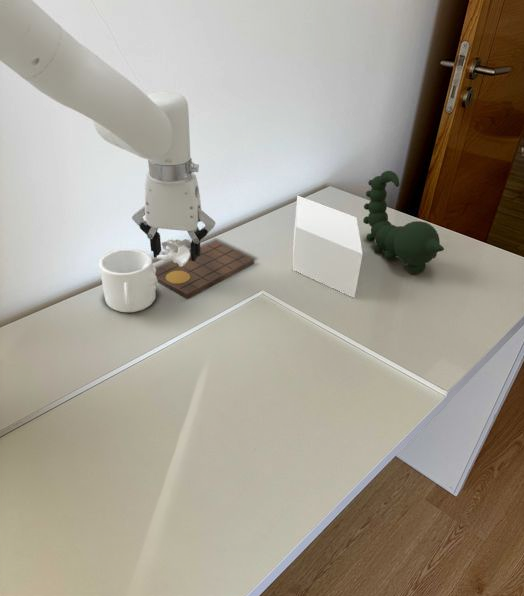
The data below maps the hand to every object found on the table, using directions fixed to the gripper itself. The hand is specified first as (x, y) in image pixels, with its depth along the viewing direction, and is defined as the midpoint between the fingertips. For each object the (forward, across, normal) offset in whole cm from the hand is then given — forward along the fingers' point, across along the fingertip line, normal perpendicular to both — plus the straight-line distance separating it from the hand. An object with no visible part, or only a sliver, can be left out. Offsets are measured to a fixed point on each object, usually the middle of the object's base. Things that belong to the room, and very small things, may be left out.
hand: (176, 255), depth 106 cm
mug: (+7, +6, +10) cm, 13 cm away
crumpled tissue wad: (+1, 0, 0) cm, 1 cm away
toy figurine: (+6, -46, -19) cm, 51 cm away
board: (+6, -4, -6) cm, 9 cm away
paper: (+6, -30, -13) cm, 33 cm away
